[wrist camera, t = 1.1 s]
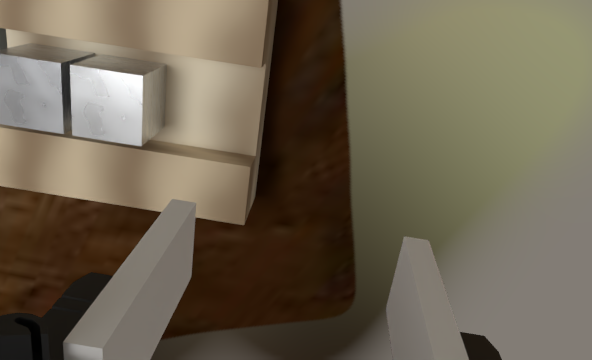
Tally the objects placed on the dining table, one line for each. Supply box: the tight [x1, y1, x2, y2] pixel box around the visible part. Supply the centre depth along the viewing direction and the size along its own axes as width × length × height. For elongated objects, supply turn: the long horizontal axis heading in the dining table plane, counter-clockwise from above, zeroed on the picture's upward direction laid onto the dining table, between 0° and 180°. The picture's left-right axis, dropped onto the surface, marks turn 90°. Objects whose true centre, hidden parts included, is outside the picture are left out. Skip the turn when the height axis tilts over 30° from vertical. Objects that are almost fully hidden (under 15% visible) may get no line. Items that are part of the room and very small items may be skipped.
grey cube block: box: [0, 43, 95, 134], centre depth 29 cm, size 4×4×4 cm
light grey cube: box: [70, 54, 167, 146], centre depth 29 cm, size 4×4×4 cm
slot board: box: [0, 0, 278, 225], centre depth 31 cm, size 16×14×4 cm
